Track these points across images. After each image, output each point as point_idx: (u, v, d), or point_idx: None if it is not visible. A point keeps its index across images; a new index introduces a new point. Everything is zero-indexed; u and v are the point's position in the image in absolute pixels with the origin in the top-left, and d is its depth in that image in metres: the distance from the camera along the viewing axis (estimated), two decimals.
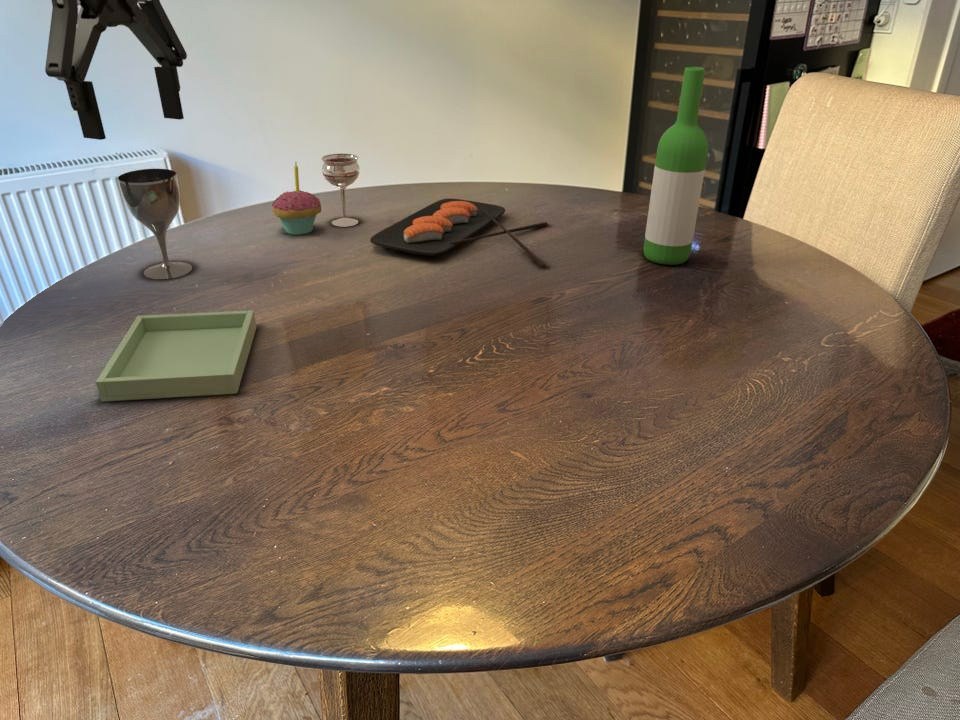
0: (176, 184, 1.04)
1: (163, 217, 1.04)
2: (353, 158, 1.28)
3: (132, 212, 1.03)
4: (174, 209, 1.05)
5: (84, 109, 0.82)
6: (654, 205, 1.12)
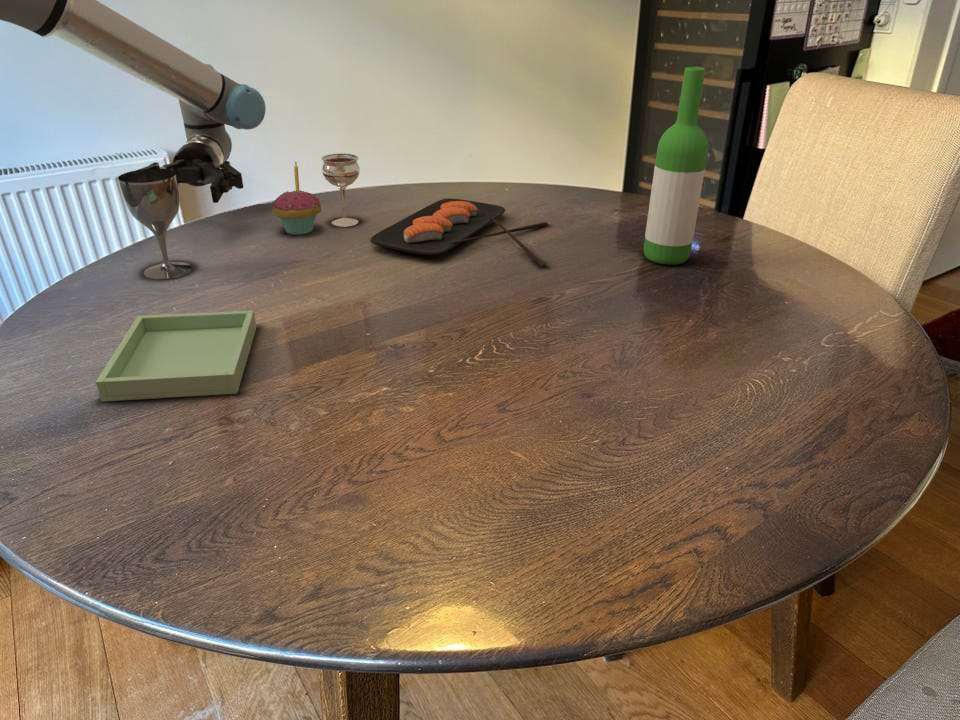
0: (176, 184, 1.04)
1: (163, 217, 1.04)
2: (353, 158, 1.28)
3: (132, 212, 1.03)
4: (174, 209, 1.05)
5: None
6: (654, 205, 1.12)
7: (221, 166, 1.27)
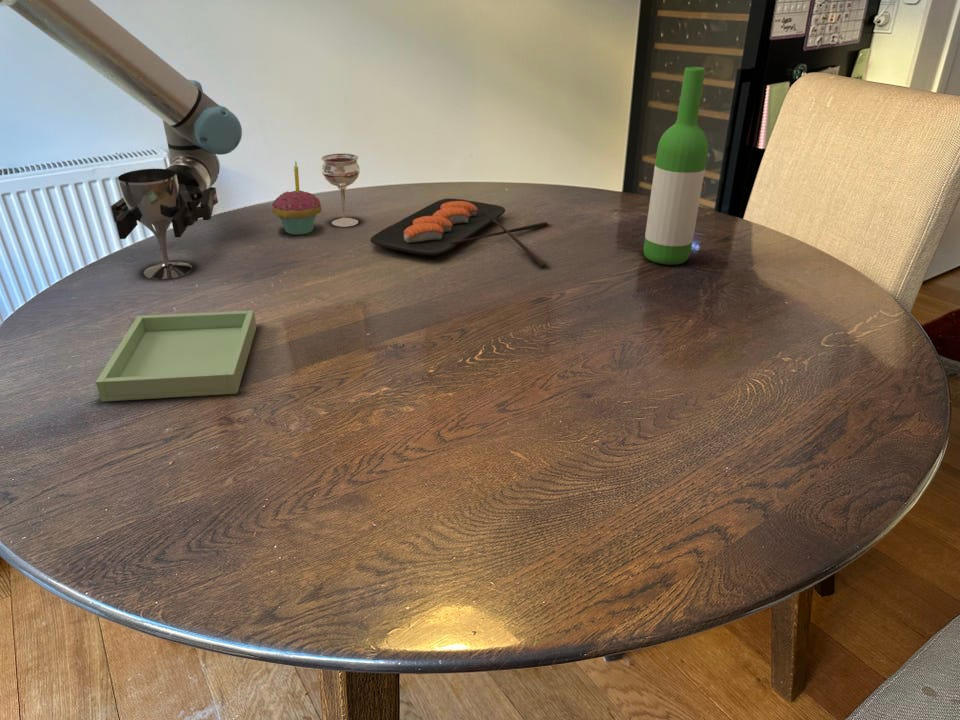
0: (176, 184, 1.04)
1: (163, 217, 1.04)
2: (353, 158, 1.28)
3: (132, 212, 1.03)
4: (174, 209, 1.05)
5: (118, 217, 1.04)
6: (654, 205, 1.12)
7: None
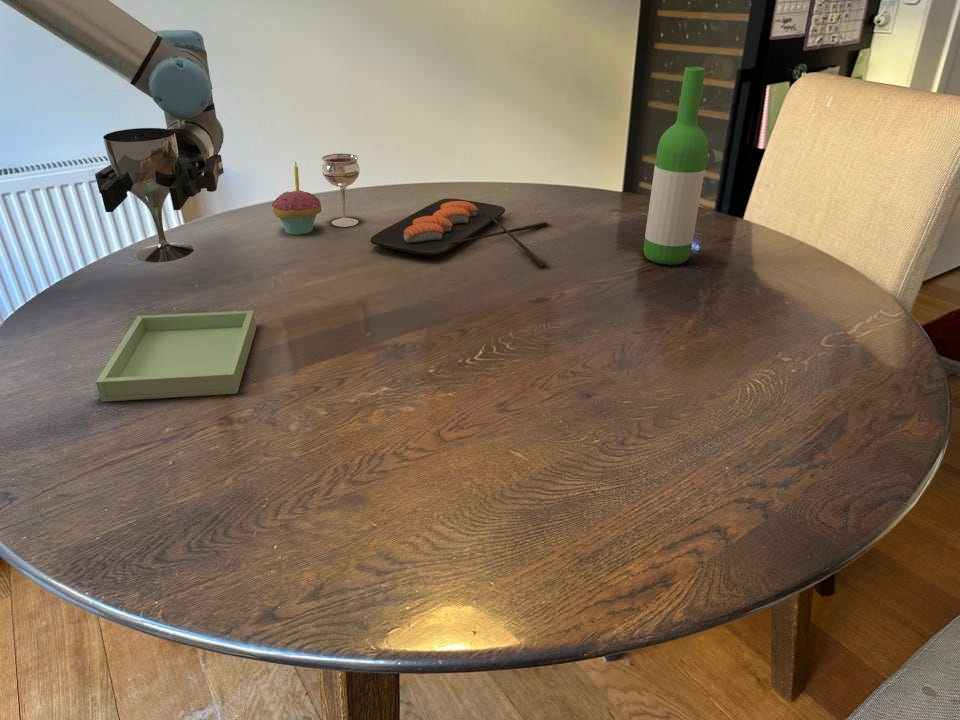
0: (175, 145, 0.85)
1: (159, 186, 0.85)
2: (353, 158, 1.28)
3: (121, 179, 0.84)
4: (172, 176, 0.86)
5: (104, 186, 0.85)
6: (654, 205, 1.12)
7: None
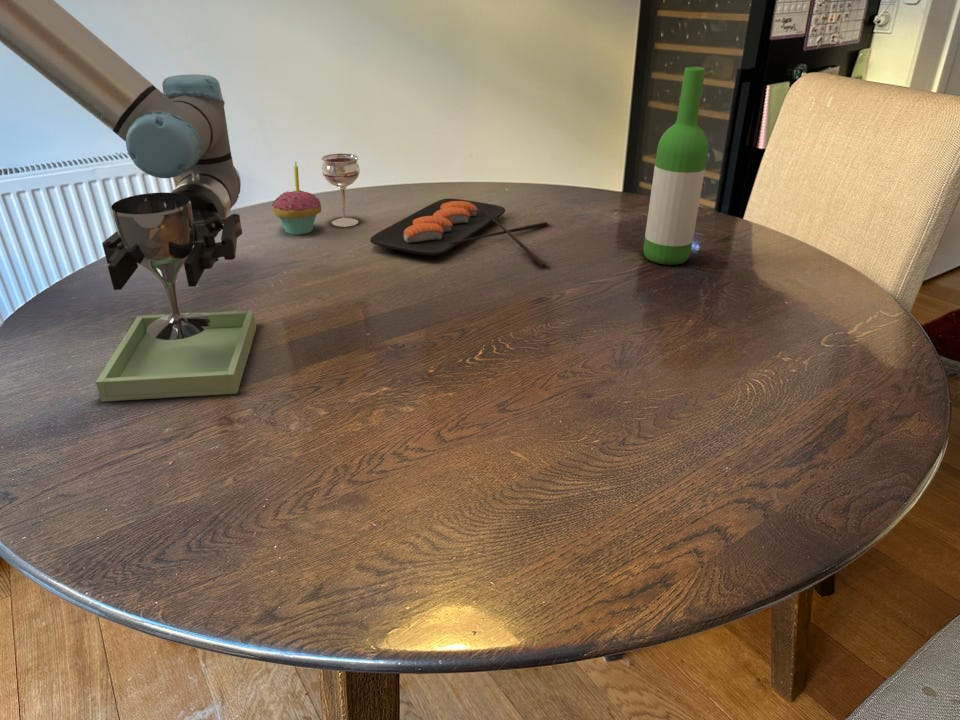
0: (190, 214, 0.77)
1: (173, 259, 0.77)
2: (353, 158, 1.28)
3: (131, 253, 0.76)
4: (187, 247, 0.78)
5: (112, 259, 0.77)
6: (654, 205, 1.12)
7: None
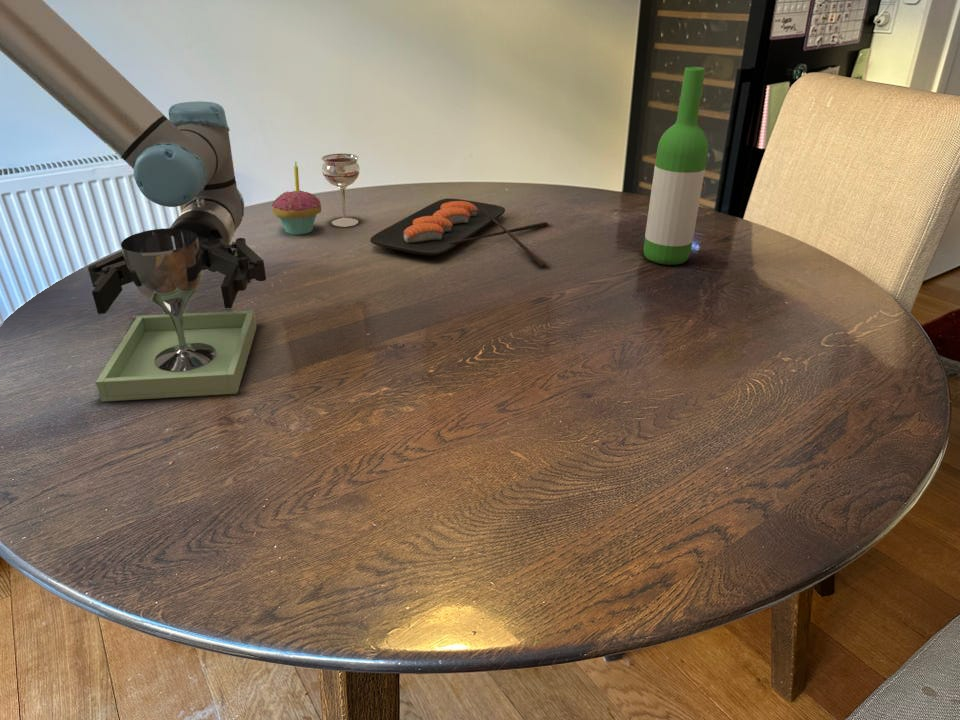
0: (197, 251, 0.79)
1: (180, 294, 0.79)
2: (353, 158, 1.28)
3: (140, 288, 0.78)
4: (195, 282, 0.80)
5: (97, 284, 0.80)
6: (654, 205, 1.12)
7: (234, 246, 0.91)
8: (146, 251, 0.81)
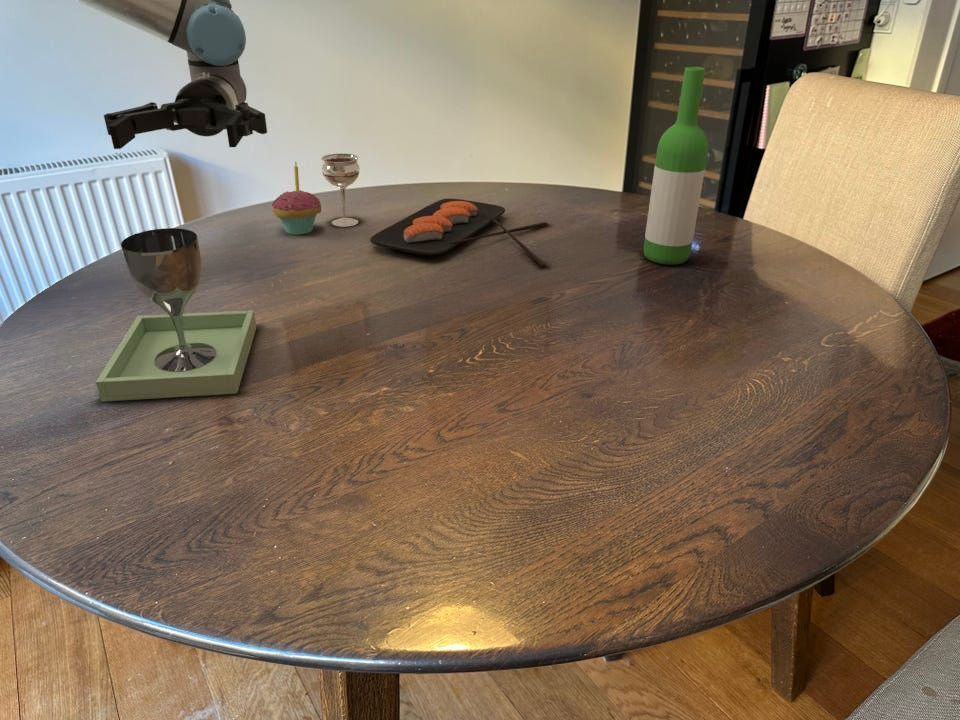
0: (197, 251, 0.79)
1: (180, 294, 0.79)
2: (353, 158, 1.28)
3: (139, 288, 0.78)
4: (195, 282, 0.80)
5: None
6: (654, 205, 1.12)
7: (237, 108, 0.99)
8: (146, 251, 0.81)
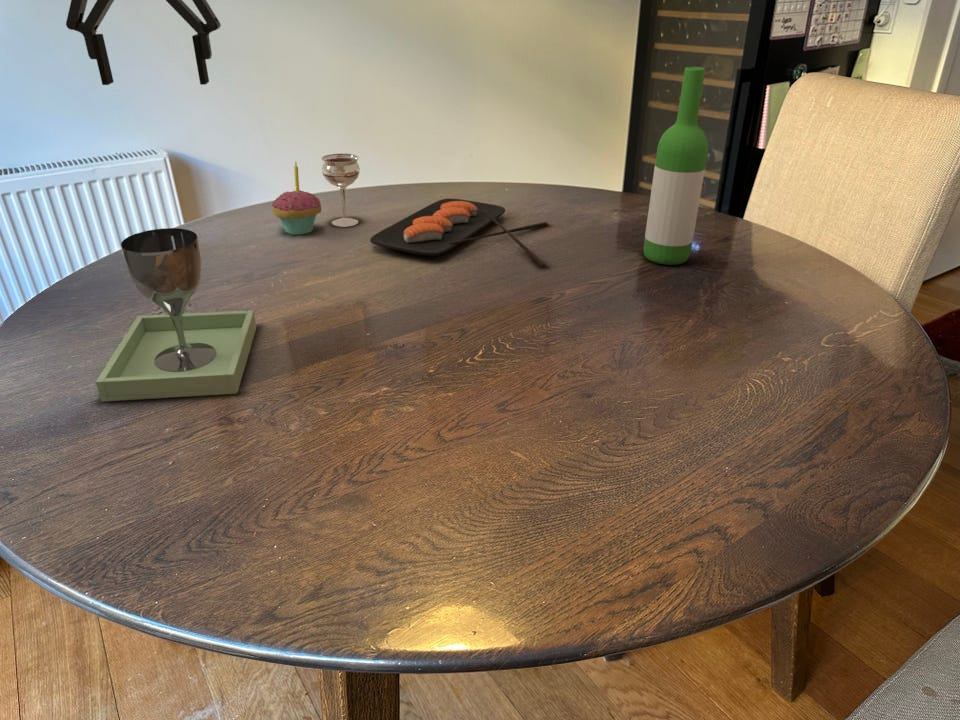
0: (197, 251, 0.79)
1: (180, 294, 0.79)
2: (353, 158, 1.28)
3: (139, 288, 0.78)
4: (195, 282, 0.80)
5: (92, 57, 1.00)
6: (654, 205, 1.12)
7: None
8: (146, 251, 0.81)
